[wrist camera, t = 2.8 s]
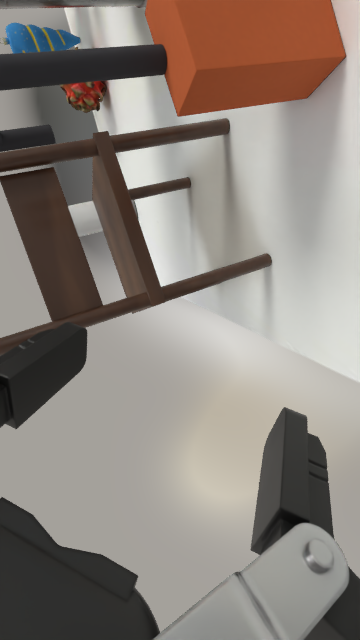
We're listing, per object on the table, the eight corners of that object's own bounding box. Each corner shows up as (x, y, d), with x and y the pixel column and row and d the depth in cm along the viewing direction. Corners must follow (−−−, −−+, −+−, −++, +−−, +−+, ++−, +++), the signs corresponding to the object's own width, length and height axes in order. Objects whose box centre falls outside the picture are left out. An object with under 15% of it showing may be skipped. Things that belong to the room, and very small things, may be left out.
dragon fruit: (121, 110, 55) (109, 59, 57) (91, 72, 47) (78, 14, 49) (86, 133, 58) (75, 84, 60) (52, 101, 50) (42, 45, 52)
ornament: (81, 58, 63) (6, 63, 58) (74, 24, 60) (-6, 27, 55) (85, 53, 59) (5, 58, 54) (77, 17, 56) (-8, 19, 51)
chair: (220, 288, 38) (0, 364, 31) (183, 174, 37) (-54, 223, 30) (276, 271, 27) (-56, 385, 19) (225, 105, 26) (-148, 156, 18)
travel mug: (131, 189, 61) (30, 210, 55) (139, 222, 63) (44, 245, 57) (125, 193, 66) (33, 212, 61) (133, 223, 69) (45, 244, 63)
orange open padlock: (263, 144, 23) (3, 193, 18) (242, 74, 23) (-30, 102, 17) (346, 56, 16) (-61, 95, 10) (317, -51, 15) (-123, -70, 10)
